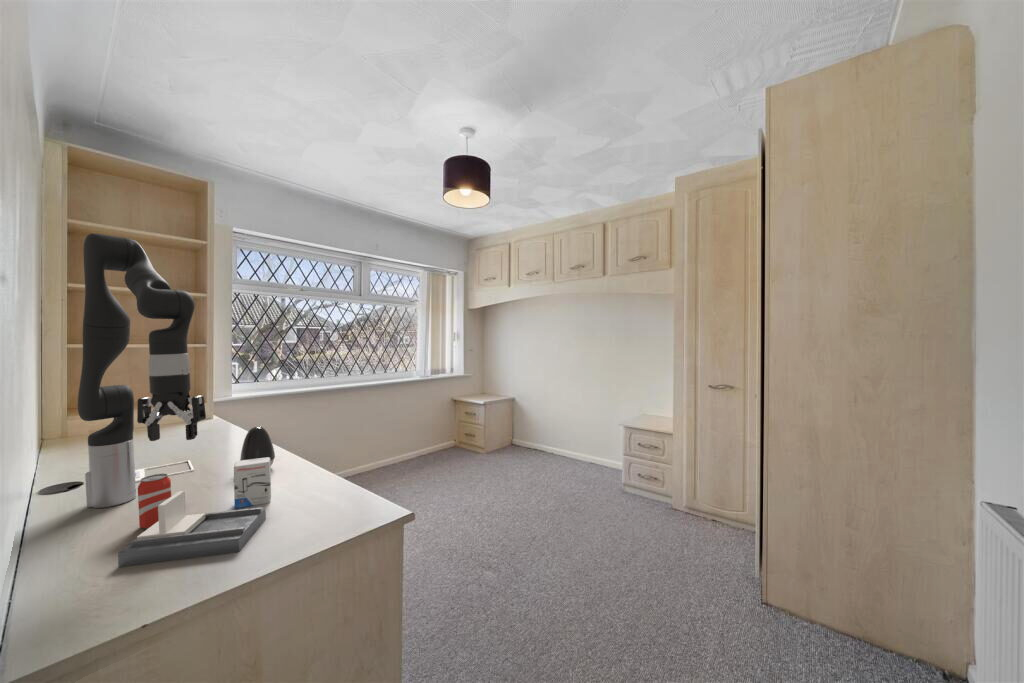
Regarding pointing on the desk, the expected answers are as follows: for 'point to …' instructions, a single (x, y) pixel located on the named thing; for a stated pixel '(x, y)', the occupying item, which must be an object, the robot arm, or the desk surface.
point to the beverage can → (152, 497)
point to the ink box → (252, 482)
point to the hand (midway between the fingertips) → (173, 439)
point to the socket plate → (197, 539)
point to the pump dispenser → (257, 445)
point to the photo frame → (141, 472)
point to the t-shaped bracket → (173, 518)
